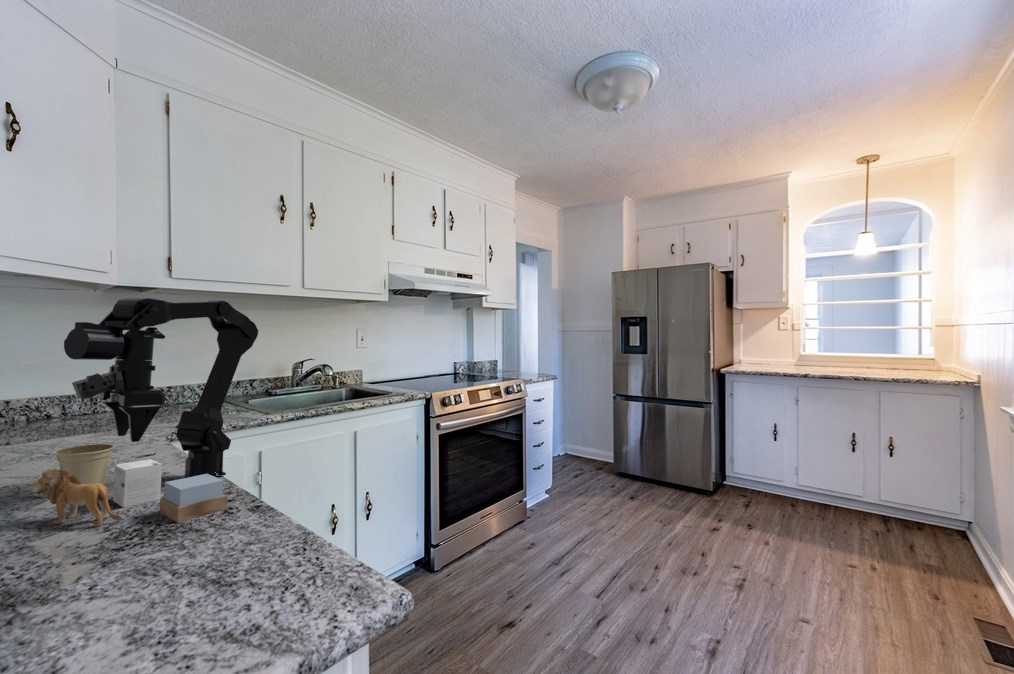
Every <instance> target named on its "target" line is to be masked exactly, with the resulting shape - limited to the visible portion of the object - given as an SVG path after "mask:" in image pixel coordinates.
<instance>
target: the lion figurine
mask: <svg viewBox="0 0 1014 674" xmlns="http://www.w3.org/2000/svg"><path fill="white" fill-rule="evenodd" d="M29 489H30V490H31V491H32V492H33V494H34V496H40V495H41V497H42V498H44V499H46V500H48V501H49V503H50V504H52V505H55V508H56V512H57V515H58V518H57V519H54V520H53V521H52V523H53V524H54V525H57V524H58V525H59V524H62V523H63V522H65V521H66V518H68V519H71V518H74V517H76V516H78V515H77V514H78V506H84V505H85V507H86V508H87V511H88V512H89V513H90V514H91V515H92V516H94V518H95V519H96V521H95V522H94V523H93V524H92V526H93V527H94V528H97V527H100V526H102V525H103V524H104V519H107V517H108V515H109V516H110V517H111V518H112V519H113V520H115V521H119V520H120V521H121V520H122V519H123V517H122V516H120V515H118V514H114V513H113V512H112V510H111V507H110V505H109V504H110V503H109V499H108V497H109V492H108V491H109V490H108V487H107V486H106V485H105V484H104V485H103V484H101V483H94V484H82V483H81V482H79V480H78V478H77V477H76V476H74V475H71V474H70V473H68V472H66V471H62V470H60V469H55V468H53V469H47V470H45V471H42V472H41V477H40V478H38V480H37V482H36V483H34V484H32V485H31V486H30V487H29ZM98 504H99V506H98ZM68 505H69V512H68V514H67V515H66V508H67V506H68ZM99 507H100V508H101V510H100V509H99Z"/></svg>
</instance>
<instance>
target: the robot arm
mask: <svg viewBox="0 0 1014 674" xmlns="http://www.w3.org/2000/svg"><path fill="white" fill-rule="evenodd" d="M198 318H200V319H201V318H207V319H208V320H209V321H210V324H211V327H212V328H213V329H214V330H215V331H216V332H217V337H216V342H217V345H218V349H219V350H218V353H217V355H216V357H215V360H214V362H213V365H212V368H211V370H210V373H209V375H208V378H207V380H206V382H205V385H204V387H203V390H202V393H201V395H200V398H199V400H198V402H197V403H196V406H195V407H194V408H193V409H191V410H183V412H182V413H181V416H180V420H179V422H178V423H177V425H176V426H175V428H176V429H177V430H176V434H175V437H176V438H177V440H178V442H179V443H180V446H181V449H182V451H183V452H188V454H187V458H185V460H184V461H185V462H184V463H185V465H184V466H185V469H184V475H183V477H184V476H185V477H184V478H186V477H187V478H188V477H193V476H198V475H203V474H209V475H211V476H214V477H216V473H218V474H219V475H221V476H220V477H222V476H223V477H224V476H226V475H227V472H225V471H224V466H223V465H224V452H225V451H227V450H229V449H230V447H231V442H232V440H231V439H230V437H228V436H227V435H226V434H225V433H224V432H223V431H222V430H223V425H224V419H223V414H222V408H223V405H224V403H225V400H226V398H227V394H228V393H229V389H230V387H231V384H232V381H233V379H234V376H235V374H236V371H237V368H238V365H239V363H240V361H241V359H242V356H243V355H244V354H246V352H247V351H249V350H250V349H251V348H252V347H253V345H254V344H255V341H256V340H257V338H258V335H259V329H258V327H257V325H256V323H255V322H254V321H252V320H251V319H250V318H249V317H248V316H247V315H246V314H244V313H242V312H241V311H239V310H237V309H236V308H234V307H233V306H232V304H231V303H230V302H228V301H225V300H207V301H193V302H192V301H190V302H189V301H187V302H185V301H184V302H171V301H167V300H163V299H155V298H148V297H143V298H138V297H137V298H136V297H135V298H134V297H133V298H127V297H126V298H121V299H118V300H117V302H116V303H115V304H114V306H113V307H112V310H111V311H110V312H109V313H108V314H107V315H106V316H105V317H104V318H103V319H102V320H101V321H100V322H99V323H95V322H88V321H86V322H85V321H76V322H75V323H74V328H73V329H72V330H70V331H69V332H68V334H67V336H66V339H64V341H63V349H64V353H65V355H66V356H67V357H68V358H69V359H71V360H90V361H91V360H92V361H93V360H95V361H97V360H98V361H111V360H113V359H115V361H114V364H111V366H110V367H109V371H108V372H106V373H103V374H100V373H95V374H91V375H86V377H85V378H84V379H80V380H76V381H73V382H71V384H72V386H73V389H74V391H75V394H76V396H77V398H78V399H81V400H86V399H90V398H93V397H94V396H96V395H99V399H98V400H101V404H103V405H105V406H106V407H107V408H109V409H110V410H111V413H112V417H113V421H114V425H115V430H116V433H117V436H118V437H124V436H126V435H127V432H128V431H129V434H130V440H131V443H136V442H137V443H138V442H140V440H141V439H142V437H143V435H144V434H145V433H146V431H147V429H148V428H149V426H150V424H151V422H152V421H153V419H154V418H155V416H156V415H157V413H158V412H159V410H160V409H162V408H163V405H165V404H166V394H165V393H164V392H163V391H162V390H161V389H158V388H157V389H156V388H154V387H155V386H154V385H151V383H152V372H154V371H156V365H153V358H154V344H155V343H154V342H155V340H157V339H159V340H164V339H166V335H165V334H163V333H162V332H161V331H160V330H159V329H158V328H157V326H159V325H163V324H167V323H169V322H170V321H174V320H183V319H184V320H185V319H186V320H187V319H198ZM155 326H156V327H155ZM144 328H145V329H144ZM124 331H126V332H125V333H123V332H124ZM215 472H216V473H215Z"/></svg>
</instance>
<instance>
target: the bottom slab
mask: <svg viewBox="0 0 1014 674" xmlns="http://www.w3.org/2000/svg"><path fill="white" fill-rule="evenodd" d="M225 510H228V495H226V494H224V493H223V496H220V497H216V498H212V499H208V500H204V501H200V502H196V503H192V504H188V505H184V506H178V505H176V504H174V503H172V502H170V501H168V500H166V499H164V497H163V498H161V497H160V500H159V514H161V515H163V516H165V517H166V518H168V519H170V520H172V521H174V522H175V523H177V524H178V523H179V524H180V523H182V522H186V521H189V520H193V519H198V518H200V517H201V518H202V517H204V516H207V515H211V514H214V513H219V512H222V511H225Z"/></svg>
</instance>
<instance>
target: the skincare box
mask: <svg viewBox="0 0 1014 674" xmlns="http://www.w3.org/2000/svg"><path fill="white" fill-rule="evenodd" d="M162 466H163V464H162V463H160V462H158V461H156V460H153V459H151V458H150V459H144V460H143V459H142V460H136V461H131V462H125V463H118V464H115V465H114V473H113V474H114V476H113V477H114V478H113V494H112V495H113V497H112V501H113V502H114V503H115V504H117V505H119V506H120V507H121V508H122V507H125V508H129V507H128V506H130V507H134V506H138V504H139V505H142V503H143V504H147V503H152V502H154V501H155V502H156V501H160V499H161V489H162V487H161V486H162ZM133 505H134V506H133Z"/></svg>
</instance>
